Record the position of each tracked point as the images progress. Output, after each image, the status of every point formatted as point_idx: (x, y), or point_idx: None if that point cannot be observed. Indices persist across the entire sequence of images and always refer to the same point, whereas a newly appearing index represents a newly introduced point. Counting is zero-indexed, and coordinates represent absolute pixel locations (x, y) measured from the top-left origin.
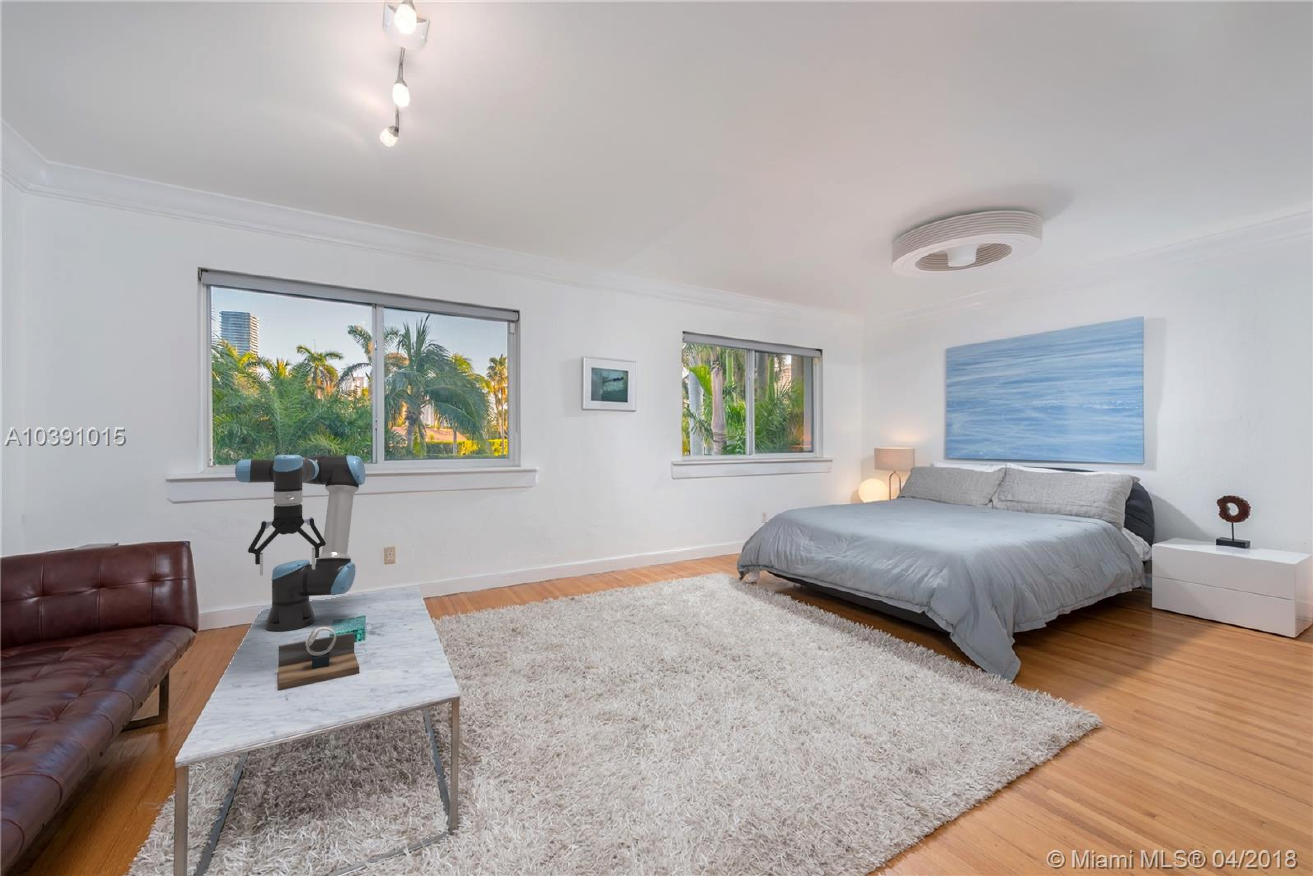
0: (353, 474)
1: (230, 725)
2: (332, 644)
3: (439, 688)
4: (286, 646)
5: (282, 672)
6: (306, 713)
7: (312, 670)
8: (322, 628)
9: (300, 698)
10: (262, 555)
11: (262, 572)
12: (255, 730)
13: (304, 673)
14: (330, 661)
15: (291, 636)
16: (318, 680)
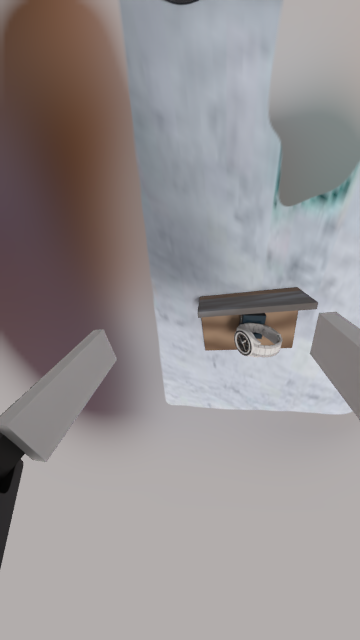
0: None
1: (179, 385)
2: (271, 340)
3: (347, 406)
4: (208, 315)
5: (206, 325)
6: (230, 393)
7: None
8: (264, 354)
9: (225, 369)
10: (50, 451)
11: (109, 367)
12: (197, 398)
13: (230, 338)
14: None
15: (203, 82)
16: None
